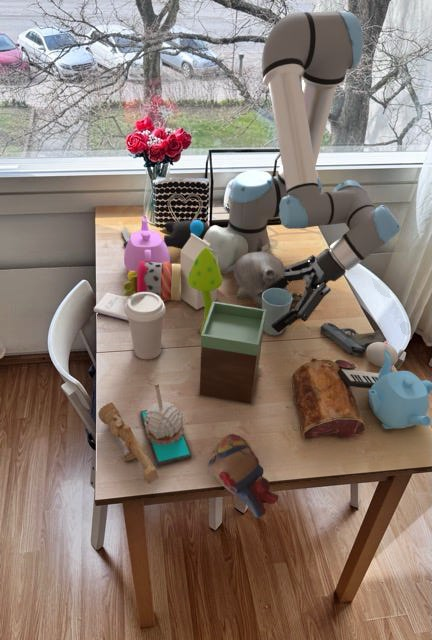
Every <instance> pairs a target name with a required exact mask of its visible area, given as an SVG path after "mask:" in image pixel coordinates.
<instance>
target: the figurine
mask: <svg viewBox="0 0 432 640" xmlns="http://www.w3.org/2000/svg"><path fill="white" fill-rule="evenodd" d="M98 418H99V420H100V421H101V422H102V423H103V424H104V425H107V426H108V427H109V431H110V434H111V435H114V436H116V438H119V439H120V440H121V441H123V443H124V446H125V447H126V448H127V450H128V452H129V453H128V454H127V455H122V459H123V460H124V461H125V462H130V461H132V460H135V459H137V461H138V462H139V463H140V465H141V466H142V468H144V472H143V473H142V477H143V478H144V479H143V480H144V482H145V483H146V484H147V485H150V486H151V485H152V484H153V483H154V482H156V480H158V479H159V473H158V472H157V471H158V470H157V468H156V466H154V464H153V463H152V461H151V459H150V457H149V456H148V455H147V453H146V452H145V451H144V449H143V447H142V445H141V444H140V442H139V441H138V439H137V438H136V436H135V434H134V432H133V430H132V427H131V426H130V424H125V422H124V419H122V416H121V414H120V412H119V410H118V408H117V407H116V406H115V404H114V403H113V401H110V402H109V403H106V404H105V405H103V406H102V407H100V409H99V411H98Z"/></svg>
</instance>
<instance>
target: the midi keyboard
mask: <svg viewBox="0 0 432 640" xmlns="http://www.w3.org/2000/svg"><path fill="white" fill-rule="evenodd" d="M338 374H339V375H340V376H341V377H342V379H343V380H344V381H345V382H346V384H347V385H348V386H349V387H350V388H360V389H369V390H370V389H371V387H372V386H373V384H374V383H375V382H376V381H377V380H378V375H379V372H371V371H361V370H355V369H354V370H344V369H341V368H340V369H339V370H338Z"/></svg>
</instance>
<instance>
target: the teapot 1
mask: <svg viewBox="0 0 432 640" xmlns="http://www.w3.org/2000/svg"><path fill="white" fill-rule="evenodd" d="M123 254H124V255H123V263H124V266H125V268H126V270H127V271H128V273H129V272H130V271H136V272H137V270H138V266H139V263H140V262H141V261H151V262H154V263H163V262H165V261H168V262H169V263H170V264H171V256H170V252H169V247H167V246H166V244H165V242H164V237H162V235H161V234H160V233H159V232H157V231H155V230H150V228H149V225H148V217H147V215H142V217H141V228H140V230H138V231H135V232H133V233H132V234H131V235H130V239H129V241H128V243H127V246H125V249H124V253H123Z"/></svg>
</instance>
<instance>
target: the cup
mask: <svg viewBox="0 0 432 640" xmlns="http://www.w3.org/2000/svg"><path fill="white" fill-rule="evenodd" d="M290 293H291V292H290ZM290 293H289V292H288V291H286V290H284V289H280V288H271V289H267V290H266V291H264V292H263V294H262V309H265V310H267V311H266V319H265V324H264V330H263V333H265V334H266V335H269V336H278V335H281V334H282V333H283V331H284V329H283V330H282V331H280V332H279V333H278V332H277V331H276V330H275V329H274V328H272V326H271V325H272V324H273V323H275V322H276V321H277V320H278V319H280V318H281V317H282V316H284V315H285V314H286V313H288V312H289V309H290V306H291V303H292V299H293V298H292V295H291V294H292V293H291V294H290Z"/></svg>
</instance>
